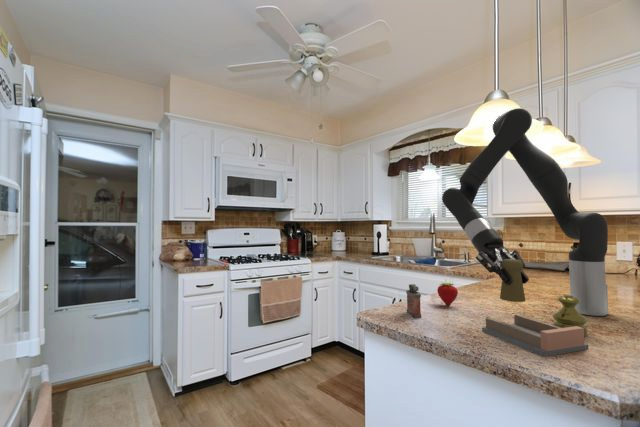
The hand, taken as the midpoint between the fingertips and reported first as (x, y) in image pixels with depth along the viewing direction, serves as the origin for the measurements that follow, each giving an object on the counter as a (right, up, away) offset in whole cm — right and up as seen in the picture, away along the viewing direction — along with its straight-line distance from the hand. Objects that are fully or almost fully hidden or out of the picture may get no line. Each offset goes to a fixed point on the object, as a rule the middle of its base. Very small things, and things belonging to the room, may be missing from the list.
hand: (518, 282), depth 86 cm
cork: (-1, -5, +2) cm, 6 cm away
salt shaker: (+15, -14, +1) cm, 21 cm away
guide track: (+1, -14, -4) cm, 14 cm away
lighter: (-22, -15, +20) cm, 34 cm away
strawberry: (-7, -15, +31) cm, 35 cm away
